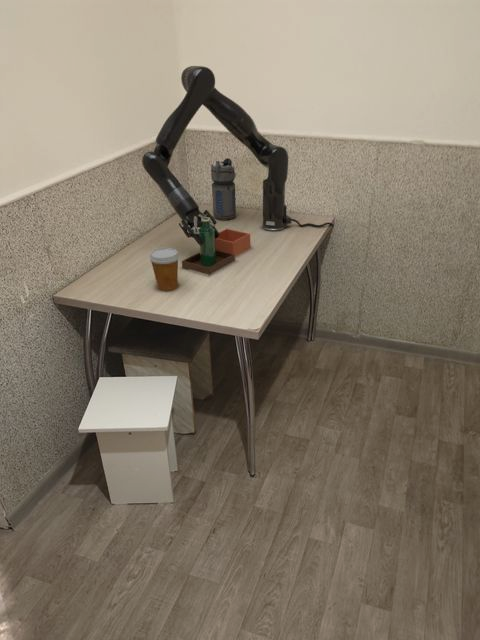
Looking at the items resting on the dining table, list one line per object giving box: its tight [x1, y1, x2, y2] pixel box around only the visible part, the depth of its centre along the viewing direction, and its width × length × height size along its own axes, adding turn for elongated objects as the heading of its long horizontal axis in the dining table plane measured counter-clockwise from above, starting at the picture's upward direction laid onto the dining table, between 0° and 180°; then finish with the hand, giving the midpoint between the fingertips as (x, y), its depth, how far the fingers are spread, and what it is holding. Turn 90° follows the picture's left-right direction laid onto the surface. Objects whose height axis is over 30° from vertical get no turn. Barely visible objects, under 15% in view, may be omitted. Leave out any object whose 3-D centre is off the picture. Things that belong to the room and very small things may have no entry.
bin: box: [215, 228, 251, 257], centre depth 195 cm, size 11×11×6 cm
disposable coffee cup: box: [148, 247, 180, 292], centre depth 165 cm, size 10×10×12 cm
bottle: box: [197, 217, 216, 266], centre depth 180 cm, size 6×6×16 cm
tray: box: [181, 250, 236, 277], centre depth 183 cm, size 15×12×3 cm
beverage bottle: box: [210, 157, 237, 221], centre depth 224 cm, size 10×13×25 cm
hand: (210, 240), depth 179 cm, fingers open, 8 cm apart
